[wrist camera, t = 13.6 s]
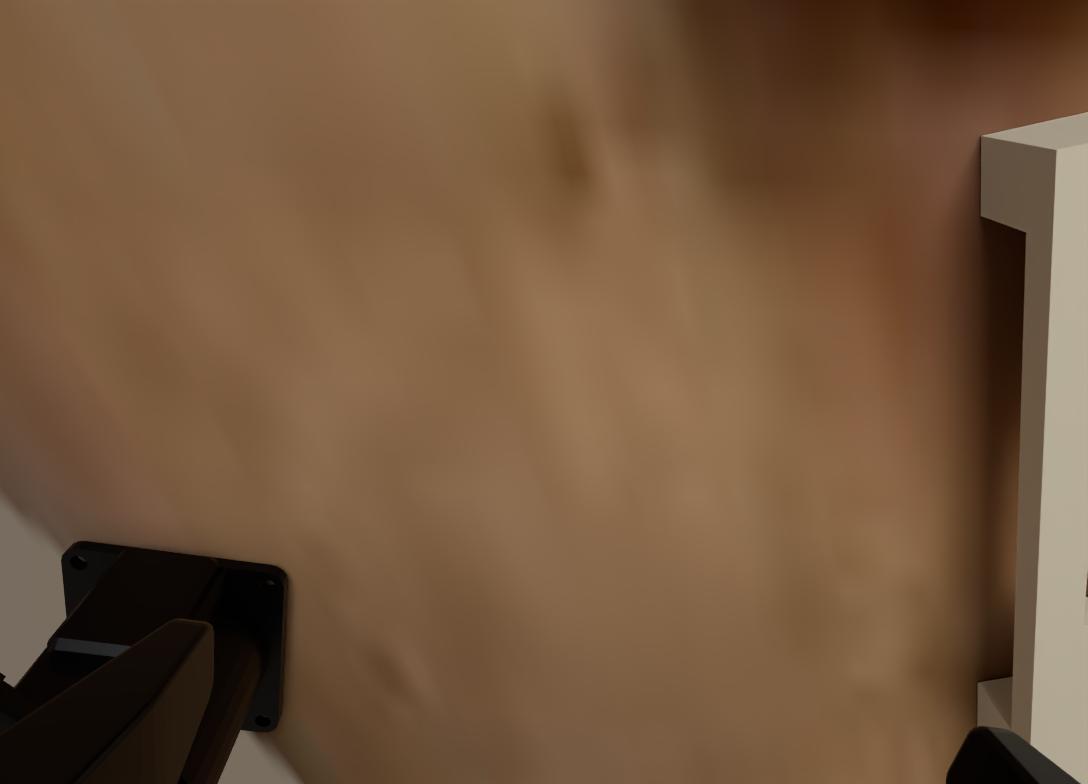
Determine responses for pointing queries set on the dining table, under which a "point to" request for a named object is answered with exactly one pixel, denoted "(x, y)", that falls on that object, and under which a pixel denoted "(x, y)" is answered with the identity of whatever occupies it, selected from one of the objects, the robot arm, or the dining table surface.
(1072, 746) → the keyhole plate
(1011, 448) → the dining table surface
